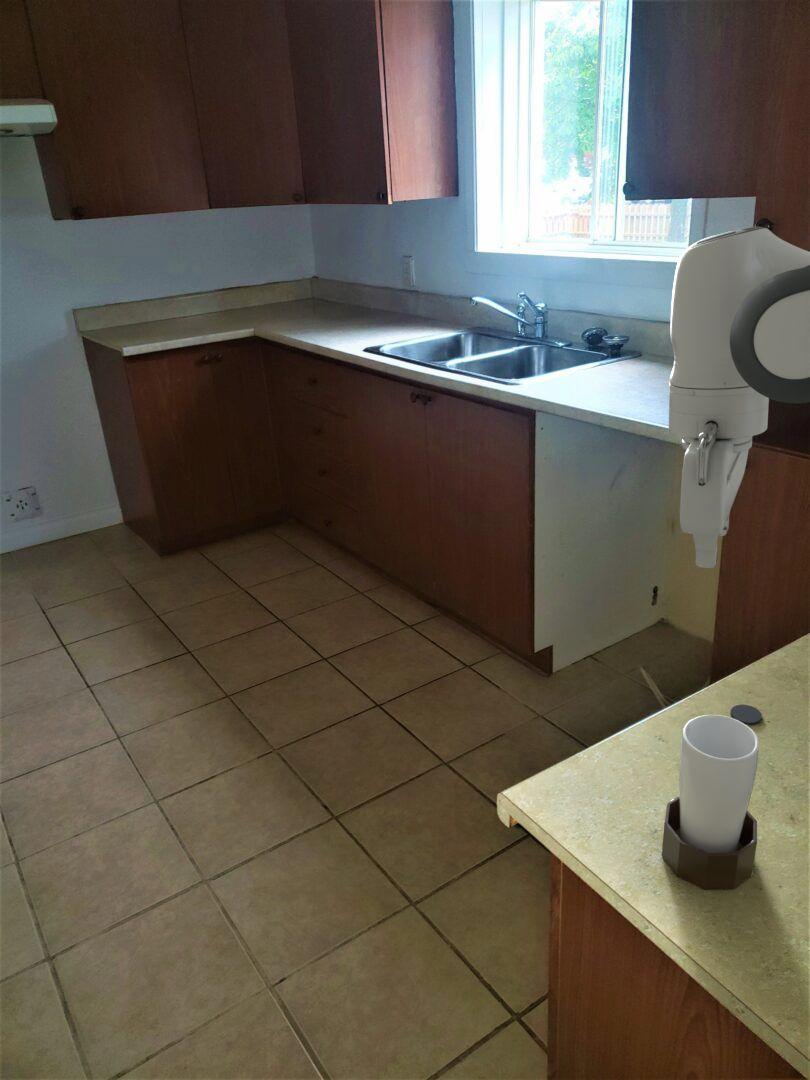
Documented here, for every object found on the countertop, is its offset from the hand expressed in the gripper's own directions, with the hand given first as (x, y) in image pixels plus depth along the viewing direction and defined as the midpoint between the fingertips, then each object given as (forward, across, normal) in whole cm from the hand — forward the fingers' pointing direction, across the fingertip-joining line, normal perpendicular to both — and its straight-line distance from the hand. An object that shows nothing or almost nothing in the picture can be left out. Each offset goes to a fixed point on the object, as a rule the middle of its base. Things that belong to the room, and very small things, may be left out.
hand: (712, 548), depth 82 cm
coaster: (+26, +14, -3) cm, 30 cm away
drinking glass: (+29, -10, -2) cm, 31 cm away
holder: (+29, -10, -2) cm, 31 cm away
